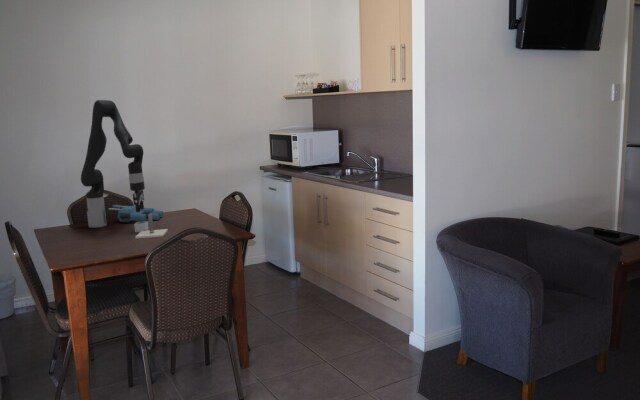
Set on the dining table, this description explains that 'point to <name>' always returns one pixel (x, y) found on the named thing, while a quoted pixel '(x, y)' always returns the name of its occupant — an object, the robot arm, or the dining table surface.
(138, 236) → the post
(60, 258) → the dining table surface
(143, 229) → the collar
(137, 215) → the toy
